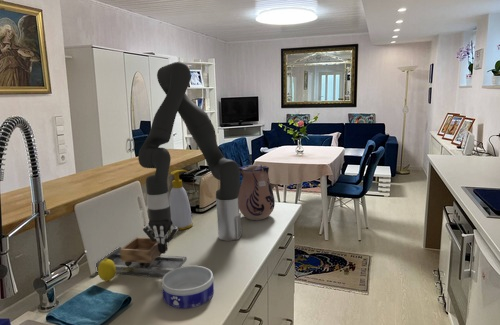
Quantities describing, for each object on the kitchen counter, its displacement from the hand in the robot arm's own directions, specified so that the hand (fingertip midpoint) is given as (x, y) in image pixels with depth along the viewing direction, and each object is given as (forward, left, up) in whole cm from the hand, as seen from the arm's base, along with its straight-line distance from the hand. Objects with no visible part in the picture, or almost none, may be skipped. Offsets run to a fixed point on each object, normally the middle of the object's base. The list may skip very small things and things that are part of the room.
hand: (163, 252), depth 131 cm
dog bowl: (-16, +16, -6) cm, 23 cm away
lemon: (+14, +12, -6) cm, 20 cm away
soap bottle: (+10, -40, -6) cm, 42 cm away
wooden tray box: (+8, 0, -4) cm, 8 cm away
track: (+8, 0, -6) cm, 10 cm away
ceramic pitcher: (-20, -55, -6) cm, 59 cm away
